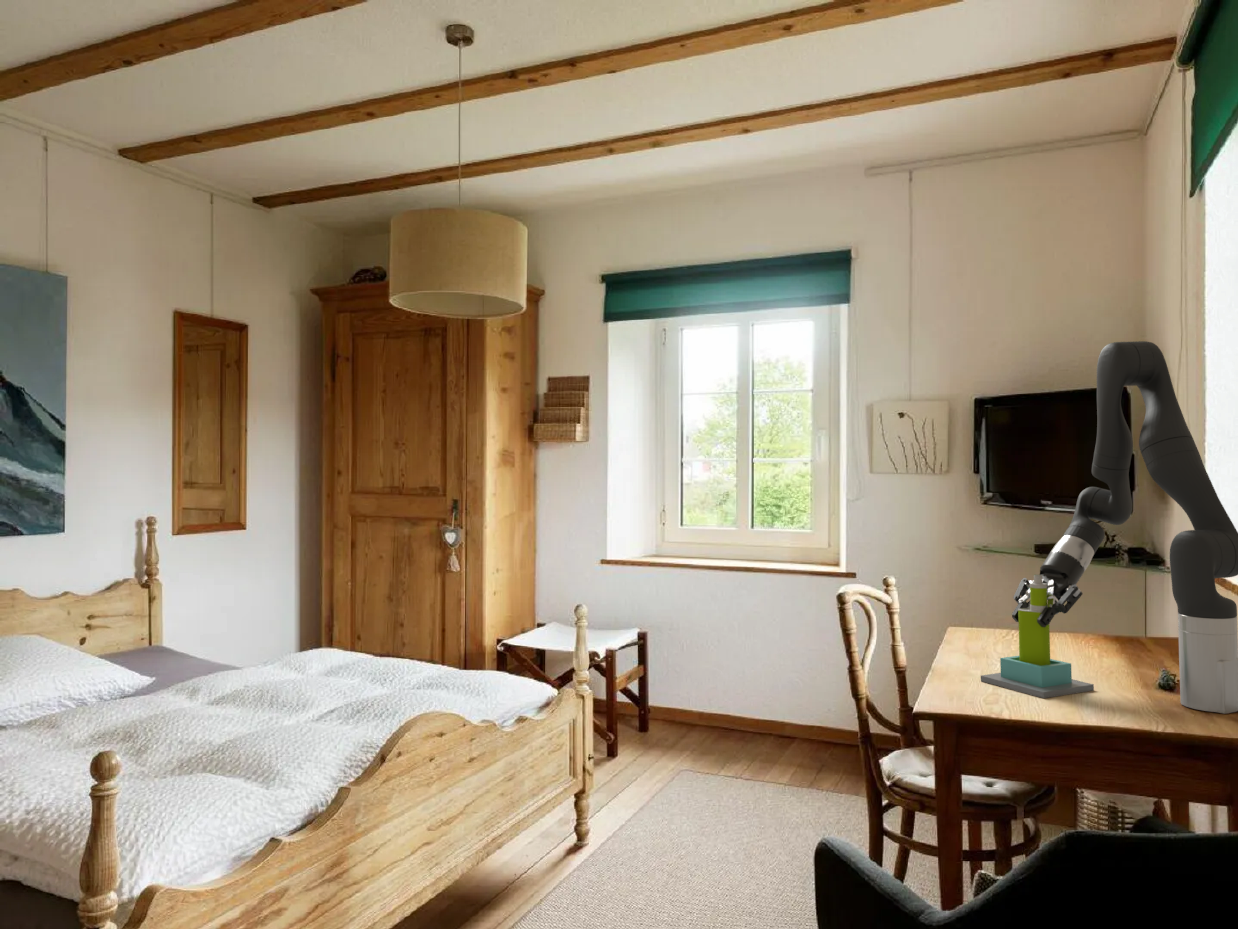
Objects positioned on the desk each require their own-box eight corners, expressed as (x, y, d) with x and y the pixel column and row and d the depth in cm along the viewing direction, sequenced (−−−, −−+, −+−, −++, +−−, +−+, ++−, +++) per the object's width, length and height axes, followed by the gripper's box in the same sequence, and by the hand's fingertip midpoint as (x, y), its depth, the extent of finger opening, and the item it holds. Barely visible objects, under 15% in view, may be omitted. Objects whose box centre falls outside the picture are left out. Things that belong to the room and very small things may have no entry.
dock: (1093, 690, 174) (1093, 664, 174) (1043, 698, 168) (1042, 672, 169) (1028, 674, 189) (1028, 650, 189) (980, 681, 183) (980, 657, 183)
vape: (1048, 673, 175) (1046, 576, 176) (1017, 670, 179) (1015, 575, 179) (1053, 670, 178) (1050, 574, 178) (1022, 666, 182) (1020, 573, 182)
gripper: (1030, 547, 188) (990, 606, 184) (1088, 552, 175) (1047, 615, 171) (1048, 569, 190) (1009, 628, 186) (1106, 576, 177) (1067, 639, 173)
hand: (1028, 622), depth 178 cm, fingers closed on vape, 5 cm apart
